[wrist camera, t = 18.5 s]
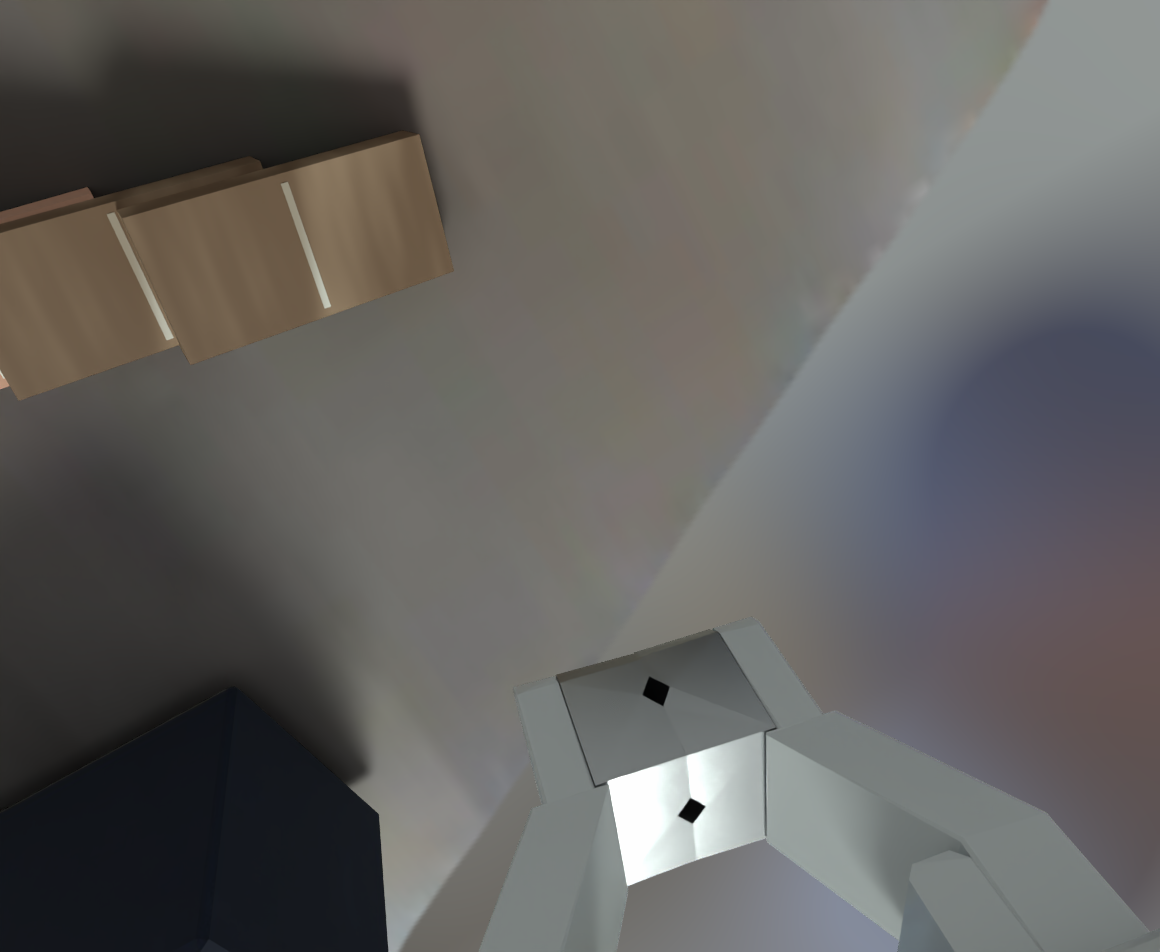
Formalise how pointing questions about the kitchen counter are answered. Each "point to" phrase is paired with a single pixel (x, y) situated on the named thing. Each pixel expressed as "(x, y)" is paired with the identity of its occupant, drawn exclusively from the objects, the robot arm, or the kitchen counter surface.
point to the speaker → (195, 847)
